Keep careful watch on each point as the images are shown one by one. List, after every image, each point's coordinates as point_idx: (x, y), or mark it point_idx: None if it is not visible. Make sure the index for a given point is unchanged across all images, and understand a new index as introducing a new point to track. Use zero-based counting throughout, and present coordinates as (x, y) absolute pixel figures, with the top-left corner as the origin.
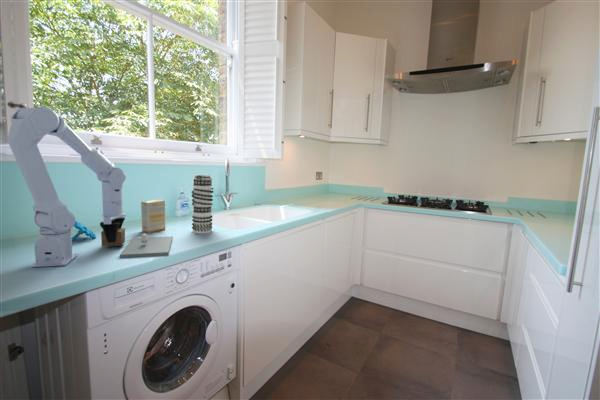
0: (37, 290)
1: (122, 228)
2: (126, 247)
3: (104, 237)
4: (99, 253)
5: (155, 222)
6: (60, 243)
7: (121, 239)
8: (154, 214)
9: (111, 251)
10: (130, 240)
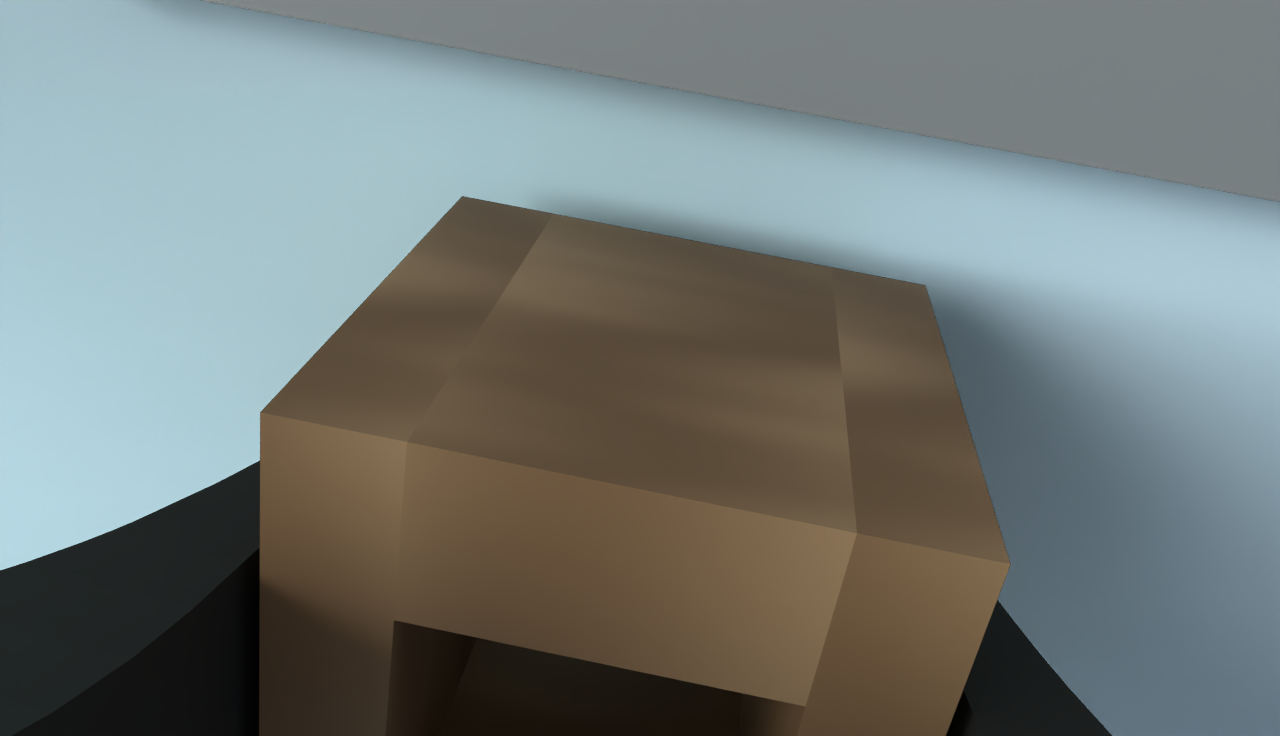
0: None
1: (321, 504)
2: (1268, 159)
3: None
4: (1155, 700)
5: None
6: None
7: (952, 383)
8: None
9: (1119, 488)
10: (390, 34)
